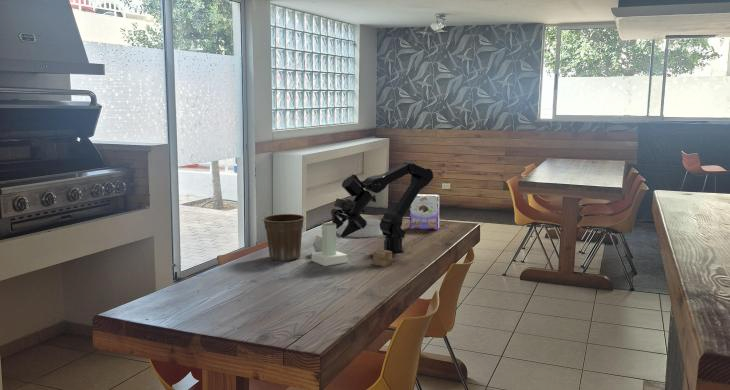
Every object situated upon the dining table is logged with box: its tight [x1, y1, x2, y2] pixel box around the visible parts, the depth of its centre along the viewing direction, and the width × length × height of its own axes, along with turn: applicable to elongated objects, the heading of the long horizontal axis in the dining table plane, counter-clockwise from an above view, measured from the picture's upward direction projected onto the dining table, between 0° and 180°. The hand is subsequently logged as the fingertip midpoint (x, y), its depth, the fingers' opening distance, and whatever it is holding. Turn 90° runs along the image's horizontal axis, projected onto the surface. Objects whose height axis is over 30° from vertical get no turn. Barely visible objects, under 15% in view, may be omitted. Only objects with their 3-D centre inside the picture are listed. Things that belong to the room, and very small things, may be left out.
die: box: [312, 234, 322, 253], centre depth 262 cm, size 8×9×10 cm
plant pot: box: [262, 213, 305, 262], centre depth 256 cm, size 16×16×16 cm
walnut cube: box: [372, 249, 393, 267], centre depth 246 cm, size 5×5×5 cm
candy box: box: [409, 193, 440, 231], centre depth 313 cm, size 14×6×16 cm, turn 77°
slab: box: [311, 250, 348, 267], centre depth 250 cm, size 10×10×3 cm
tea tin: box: [321, 221, 337, 256], centre depth 249 cm, size 4×4×12 cm
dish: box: [336, 217, 383, 238], centre depth 305 cm, size 22×22×5 cm
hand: (335, 234), depth 251 cm, fingers open, 9 cm apart
